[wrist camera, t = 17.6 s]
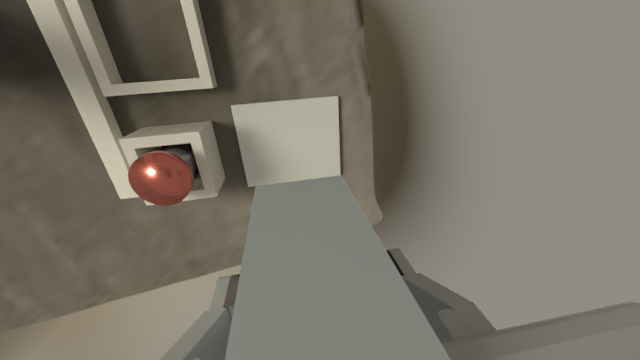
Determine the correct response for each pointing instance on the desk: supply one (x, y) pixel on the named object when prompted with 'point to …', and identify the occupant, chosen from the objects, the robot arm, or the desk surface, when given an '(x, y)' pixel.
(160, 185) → the plunger
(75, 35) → the socket
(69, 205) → the desk surface
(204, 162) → the tower
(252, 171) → the pad
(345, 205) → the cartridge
